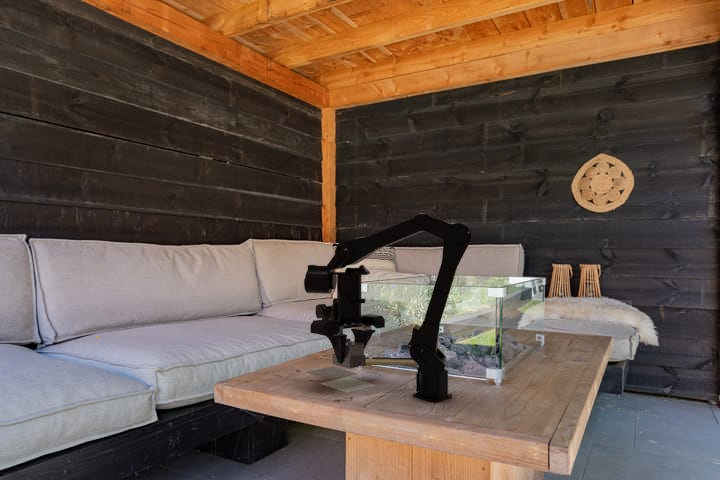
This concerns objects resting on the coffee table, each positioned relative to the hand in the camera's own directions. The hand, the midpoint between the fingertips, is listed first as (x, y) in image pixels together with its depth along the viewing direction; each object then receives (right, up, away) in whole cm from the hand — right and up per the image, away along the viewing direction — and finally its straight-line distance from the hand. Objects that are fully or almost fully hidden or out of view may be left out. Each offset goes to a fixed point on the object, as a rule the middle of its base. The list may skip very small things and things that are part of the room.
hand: (348, 361), depth 111 cm
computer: (+11, -8, +23) cm, 27 cm away
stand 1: (-5, -7, +11) cm, 14 cm away
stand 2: (0, -7, 0) cm, 7 cm away
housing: (0, -1, 0) cm, 1 cm away
